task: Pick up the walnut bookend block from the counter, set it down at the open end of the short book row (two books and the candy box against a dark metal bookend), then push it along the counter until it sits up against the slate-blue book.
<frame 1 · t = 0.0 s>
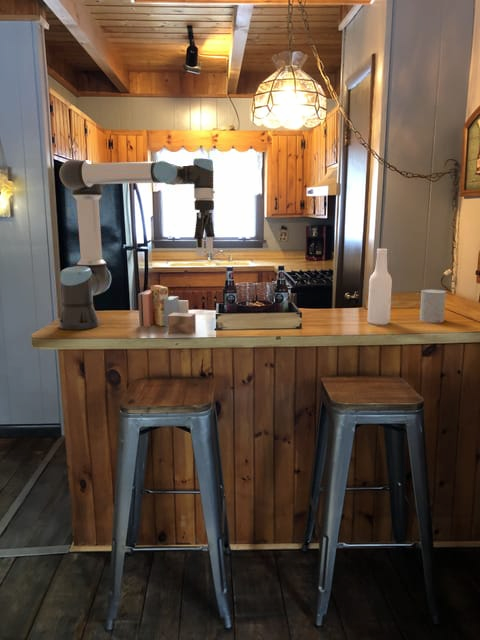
hand: (205, 254, 204), 28 cm above the countertop, tool pointing down, fingers open, 13 cm apart
grey cylinder: (431, 320, 214), on the countertop
candy box: (160, 324, 209), touching shelved books
book rack: (163, 323, 210), on the countertop
walnut block: (182, 332, 195), on the countertop
alcohol: (378, 323, 210), on the countertop
shelved books: (160, 324, 209), on the countertop
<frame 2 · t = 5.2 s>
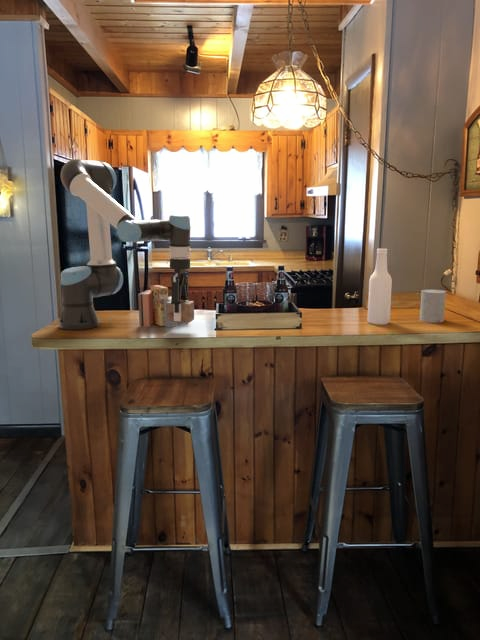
hand: (180, 318, 194), 5 cm above the countertop, tool pointing down, fingers closed on walnut block, 6 cm apart
walnut block: (180, 320, 195), point 5 cm above the countertop, touching gripper
everything else where it was.
when the fingers open (0 cm above the countertop, at t = 9.5 s): walnut block moves 1 cm, on the countertop.
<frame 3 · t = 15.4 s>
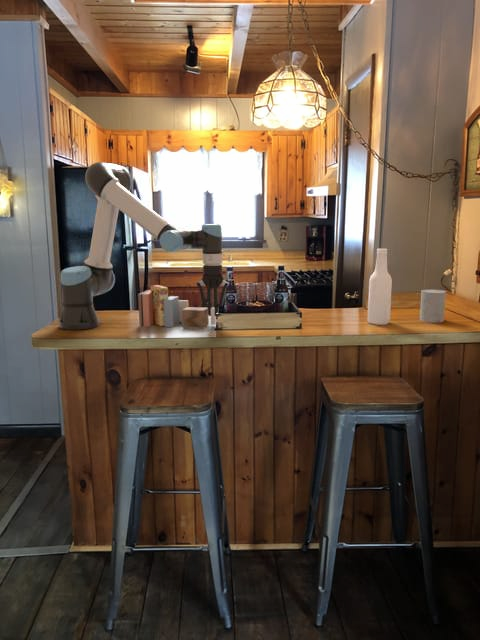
hand: (213, 323, 204), 1 cm above the countertop, tool pointing down, fingers closed
walnut block: (195, 325, 206), on the countertop, touching gripper
everything else where it was.
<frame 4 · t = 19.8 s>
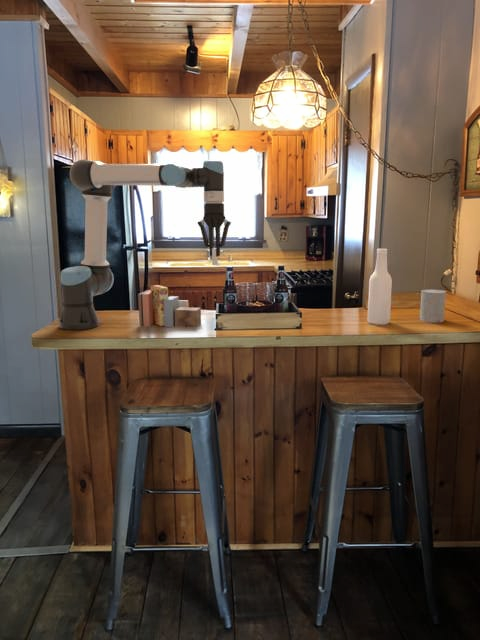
hand: (215, 264, 201), 24 cm above the countertop, tool pointing down, fingers closed
walnut block: (188, 325, 206), on the countertop
everything else where it was.
at the end: walnut block 0.3 cm from the target spot, on the countertop; walnut block tilted 0°; the gripper is holding nothing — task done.
